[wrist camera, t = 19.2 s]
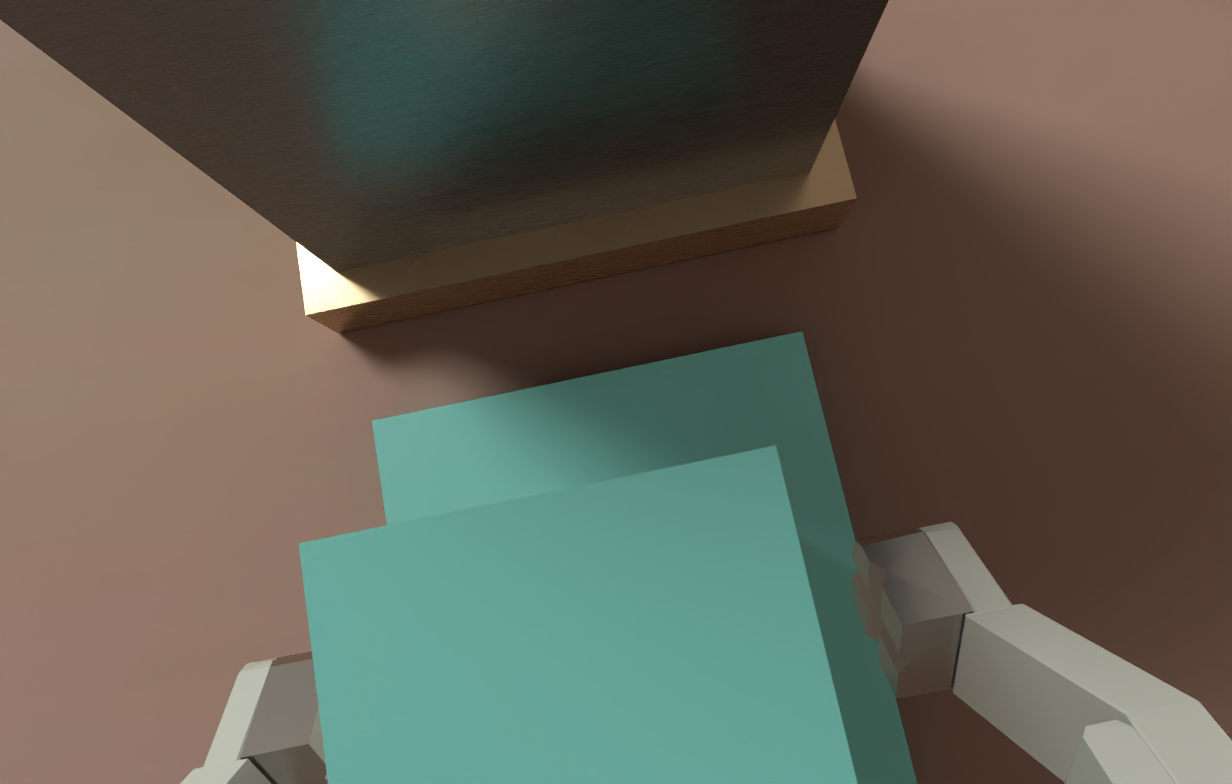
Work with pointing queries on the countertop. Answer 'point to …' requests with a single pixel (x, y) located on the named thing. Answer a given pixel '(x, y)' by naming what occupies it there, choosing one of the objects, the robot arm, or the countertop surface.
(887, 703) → the pad
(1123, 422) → the countertop surface
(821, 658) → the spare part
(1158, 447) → the countertop surface
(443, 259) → the mounted unit
